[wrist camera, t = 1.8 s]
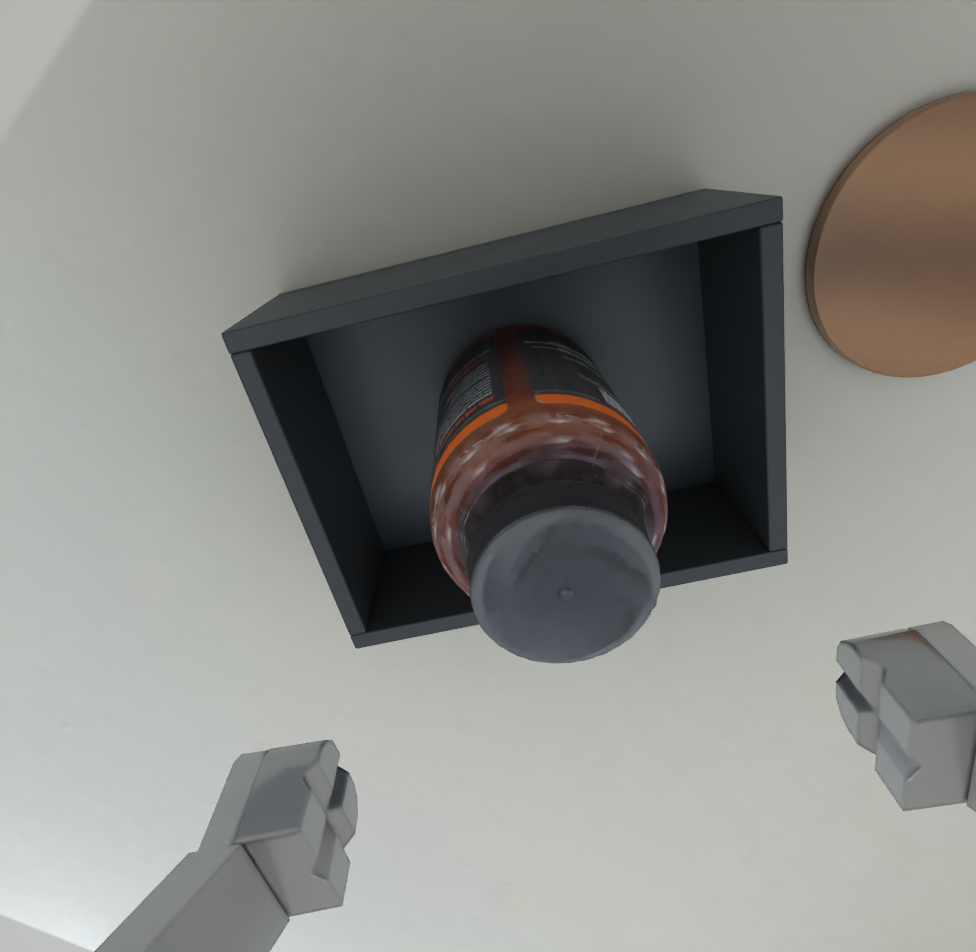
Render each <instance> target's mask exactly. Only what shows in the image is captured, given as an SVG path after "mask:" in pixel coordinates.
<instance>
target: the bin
mask: <svg viewBox="0 0 976 952" xmlns="http://www.w3.org/2000/svg"><path fill="white" fill-rule="evenodd" d="M782 220H783V199H782V196H773V195H763V194H754V193H744V192H734V191H724V190H714V189H701V190H697V191H693V192H689V193H685V194H681V195H677V196H673V197H669V198H665V199H661V200H657V201H653V202H649V203H645V204H641V205H637V206H633V207H629V208H625V209H621V210H617V211H613V212H609V213H605V214H601V215H596V216H592V217H588V218H584V219H580V220H576V221H572V222H568V223H564V224H560V225H556V226H552V227H548V228H544V229H540V230H536V231H532V232H528V233H524V234H520V235H516V236H512V237H508V238H504V239H500V240H496V241H492V242H488V243H484V244H480V245H475V246H471V247H467V248H463V249H459V250H455V251H451V252H447V253H443V254H439V255H435V256H431V257H427V258H423V259H419V260H415V261H411V262H407V263H403V264H399V265H395V266H391V267H387V268H383V269H379V270H375V271H371V272H367V273H363V274H359V275H354V276H350V277H346V278H342V279H338V280H334V281H330V282H326V283H322V284H318V285H314V286H310V287H306V288H302V289H298V290H294V291H290V292H286V293H282V294H279V295H278V296H276V297H275V298H273V299H272V300H270V301H269V302H267V303H266V304H264V305H263V306H261V307H260V308H258V309H257V310H255V311H254V312H252V313H251V314H249V315H248V316H246V317H245V318H243V319H242V320H241V321H239V322H238V323H236V324H235V325H233V326H232V327H230V328H229V329H227V330H226V331H224V332H223V333H222V337H223V340H224V342H225V344H226V347H227V349H228V351H229V353H230V354H232V355H231V358H232V360H233V363H234V365H235V367H236V370H237V372H238V374H239V377H240V379H241V381H242V384H243V386H244V388H245V391H246V393H247V395H248V398H249V400H250V402H251V405H252V407H253V409H254V412H255V414H256V416H257V419H258V421H259V423H260V426H261V428H262V430H263V433H264V435H265V437H266V440H267V442H268V444H269V447H270V449H271V451H272V454H273V456H274V458H275V461H276V463H277V466H278V468H279V470H280V473H281V475H282V477H283V480H284V482H285V484H286V487H287V489H288V491H289V494H290V496H291V498H292V501H293V503H294V505H295V508H296V510H297V512H298V515H299V517H300V519H301V522H302V524H303V526H304V529H305V531H306V533H307V536H308V538H309V540H310V543H311V545H312V547H313V550H314V552H315V554H316V557H317V559H318V561H319V564H320V566H321V568H322V571H323V573H324V575H325V578H326V580H327V583H328V585H329V587H330V590H331V592H332V594H333V597H334V599H335V601H336V604H337V606H338V608H339V611H340V613H341V615H342V618H343V620H344V622H345V625H346V627H347V629H348V632H349V634H350V635H351V639H352V641H353V643H354V646H355V648H362V647H367V646H372V645H377V644H382V643H387V642H392V641H397V640H402V639H407V638H412V637H417V636H422V635H428V634H433V633H438V632H443V631H448V630H453V629H458V628H463V627H468V626H473V625H478V624H479V623H478V621H477V619H476V616H475V614H474V612H473V608H472V605H471V599H470V596H468V595H467V594H466V593H465V592H464V590H462V589H461V588H460V587H459V586H458V585H457V584H456V583H455V582H454V581H453V579H452V578H451V577H450V575H449V574H448V573H447V572H446V570H445V569H444V567H443V565H442V563H441V561H440V559H439V557H438V554H437V551H436V549H435V546H434V543H433V539H432V533H431V526H430V491H431V480H432V468H433V463H434V449H435V439H436V429H437V416H438V405H439V398H440V393H441V391H442V386H443V383H444V380H445V378H446V376H447V373H448V372H449V370H450V368H451V366H452V365H453V363H454V362H455V360H456V359H457V358H458V356H459V355H460V354H461V353H462V352H463V351H464V350H465V349H466V348H467V347H468V346H469V345H470V344H472V343H473V342H475V341H476V340H477V339H479V338H481V337H482V336H484V335H486V334H488V333H491V332H494V331H497V330H500V329H504V328H508V327H514V326H536V327H543V328H547V329H549V330H552V331H555V332H558V333H560V334H561V335H563V336H565V337H567V338H569V339H570V340H572V341H573V342H575V343H576V344H577V345H578V346H579V347H580V348H581V349H583V350H584V352H585V353H586V354H587V355H588V356H589V357H590V359H591V360H592V361H593V362H594V363H595V365H596V366H597V368H598V369H599V371H600V373H601V374H602V376H603V377H604V379H605V381H606V382H607V383H608V385H609V386H610V388H611V389H612V391H613V393H614V395H615V396H616V398H617V399H618V400H619V402H620V403H621V405H622V406H623V408H624V409H625V411H626V413H627V414H628V416H629V417H630V419H631V420H632V422H633V423H634V424H635V426H636V428H637V429H638V431H639V433H640V435H641V437H642V438H643V440H644V441H645V442H646V445H647V446H648V448H649V449H650V451H651V453H652V454H653V456H654V458H655V460H656V462H657V464H658V466H659V469H660V471H661V473H662V476H663V479H664V484H665V488H666V494H667V507H668V513H667V524H666V530H665V533H664V535H663V539H662V541H661V545H660V547H659V548H658V552H657V554H656V555H657V558H658V561H659V566H660V573H661V583H660V588H665V587H670V586H675V585H680V584H685V583H690V582H695V581H700V580H706V579H711V578H716V577H721V576H726V575H731V574H736V573H741V572H746V571H751V570H756V569H761V568H766V567H771V566H776V565H781V564H786V563H787V562H788V558H787V490H786V422H785V354H784V285H783V224H782V222H781V221H782Z"/></svg>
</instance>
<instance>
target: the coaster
mask: <svg viewBox="0 0 976 952" xmlns="http://www.w3.org/2000/svg"><path fill="white" fill-rule="evenodd" d="M805 279H806V294H807V298H808V303H809V308H810V311H811V314H812V317H813V319H814V322H815V324H816V326H817V328H818V329H819V331H820V333H821V335H822V336H823V338H824V339H825V340H826V341H827V342H828V344H829V345H830V346H831V347H832V348H833V349H834V350H835V351H836V352H838V353H839V354H840V355H841V356H842V357H844V358H846V359H847V360H849V361H851V362H852V363H854V364H856V365H858V366H860V367H862V368H864V369H867V370H869V371H872V372H874V373H878V374H882V375H887V376H894V377H922V376H928V375H934V374H939V373H943V372H946V371H950V370H954V369H956V368H959V367H961V366H964V365H966V364H969V363H971V362H973V361H975V360H976V91H974V92H968V93H963V94H957V95H952V96H949V97H946V98H943V99H940V100H937V101H934V102H932V103H930V104H927V105H925V106H923V107H921V108H919V109H917V110H914V111H913V112H911V113H909V114H908V115H906V116H905V117H903V118H901V119H900V120H898V121H896V122H895V123H894V124H892V125H891V126H890V127H888V128H887V129H886V130H884V131H883V132H882V133H880V134H879V135H878V136H877V137H876V138H875V139H874V140H873V141H871V142H870V143H869V144H868V145H867V146H866V147H865V148H864V149H863V150H862V151H861V152H860V153H859V154H858V155H857V157H856V158H855V159H854V160H853V161H852V162H851V164H850V165H849V166H848V167H847V168H846V170H845V171H844V172H843V174H842V175H841V177H840V178H839V179H838V181H837V182H836V184H835V185H834V187H833V189H832V190H831V192H830V194H829V196H828V197H827V199H826V201H825V203H824V205H823V207H822V209H821V212H820V214H819V216H818V218H817V221H816V223H815V226H814V230H813V233H812V236H811V239H810V243H809V249H808V254H807V259H806V274H805Z"/></svg>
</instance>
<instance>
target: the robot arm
mask: <svg viewBox="0 0 976 952" xmlns="http://www.w3.org/2000/svg"><path fill="white" fill-rule="evenodd" d="M836 661H837V662H838V663H839V665H840V666H841V667H842V669H843V670H844V673H843V674H842V675H841V676H840V678H839V679H838V680H837V681H836V699H837V703H838V706H839V710H840V713H841V716H842V718H843V720H844V722H845V725H846V727H847V729H848V730H849V732H850V734H851V735H852V737H853V738H854V740H855V741H856V743H857V744H858V745H860V746H861V747H863V748H865V749H867V750H868V751H870V752H872V753H874V754H876V765H875V771H876V772H877V774H878V775H879V777H880V778H881V779H882V781H883V782H884V784H885V785H886V787H887V788H888V790H889V791H890V793H891V794H892V795H893V797H894V798H895V800H896V801H897V803H898V804H899V806H900V807H901V809H902V810H903V811H909V810H916V809H923V808H930V807H937V806H945V805H952V804H959V803H966V802H967V806H968V807H969V808H971V809H972V810H974V811H975V812H976V646H974V645H973V644H972V643H971V642H970V641H969V640H968V639H967V638H966V637H965V636H964V635H963V634H961V633H960V632H959V631H958V630H957V629H956V628H955V627H954V626H953V625H951V624H949V623H947V622H944V621H940V622H935V623H930V624H925V625H920V626H915V627H910V628H908V629H899V630H894V631H889V632H884V633H879V634H874V635H869V636H864V637H860V638H855V639H850V640H845V641H841V642H840V643H839V645H838V647H837V659H836ZM339 757H340V753H339V751H338V749H337V747H336V746H335V744H334V742H333V740H323V741H317V742H311V743H305V744H298V745H292V746H286V747H280V748H274V749H270V750H265V751H259V752H253V753H247V754H241V755H240V756H239V757H238V759H237V760H236V761H235V762H234V763H233V765H232V768H231V770H230V773H229V775H228V778H227V780H226V783H225V785H224V788H223V790H222V793H221V795H220V798H219V800H218V803H217V805H216V807H215V810H214V812H213V815H212V817H211V820H210V822H209V825H208V827H207V830H206V832H205V835H204V837H203V840H202V842H201V845H200V847H199V850H198V851H197V852H192V853H189V854H188V855H187V856H186V857H185V858H184V859H183V860H182V861H181V862H180V863H179V864H178V865H177V866H176V867H175V868H174V869H173V870H172V871H171V872H170V873H169V874H168V875H167V876H166V877H165V879H164V880H163V881H162V882H161V883H160V884H159V885H158V886H157V887H156V888H155V889H154V890H153V891H152V892H151V893H150V894H149V895H148V896H147V897H146V898H145V899H144V900H143V901H142V902H141V904H140V905H139V906H138V907H137V908H136V909H135V910H134V911H133V912H132V913H131V914H130V915H129V916H128V917H127V918H126V919H125V920H124V921H123V922H122V923H121V924H120V925H119V926H118V927H117V929H116V930H115V931H114V932H113V933H112V934H111V935H110V936H109V937H108V938H107V939H106V940H105V941H104V942H103V943H102V944H101V945H100V946H99V947H98V948H97V949H96V950H95V951H94V952H270V950H271V949H272V947H273V946H274V944H275V943H276V941H277V939H278V938H279V936H280V935H281V933H282V932H283V930H284V928H285V927H286V925H287V924H288V922H289V921H290V920H289V917H290V916H295V915H300V914H305V913H310V912H315V911H320V910H325V909H330V908H335V907H340V906H342V905H343V899H344V894H345V888H346V883H347V877H348V871H349V866H350V860H349V859H348V857H347V855H346V853H345V851H344V848H345V846H346V845H347V844H348V842H349V841H350V840H351V838H352V837H353V836H354V834H355V831H356V824H357V818H358V808H357V794H356V790H355V785H354V782H353V780H352V778H351V776H350V773H349V772H347V771H346V770H344V769H342V768H340V767H338V762H339Z"/></svg>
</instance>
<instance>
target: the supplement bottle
mask: <svg viewBox="0 0 976 952" xmlns="http://www.w3.org/2000/svg"><path fill="white" fill-rule="evenodd" d="M667 513H668V507H667V494H666V488H665V484H664V479H663V476H662V473H661V471H660V469H659V466H658V464H657V462H656V460H655V458H654V456H653V454H652V453H651V451H650V449H649V448H648V446H647V445H646V442H645V441H644V440H643V438H642V437H641V435H640V433H639V431H638V429H637V428H636V426H635V424H634V423H633V422H632V420H631V419H630V417H629V416H628V414H627V413H626V411H625V409H624V408H623V406H622V405H621V403H620V402H619V400H618V399H617V398H616V396H615V395H614V393H613V391H612V389H611V388H610V386H609V385H608V383H607V382H606V381H605V379H604V377H603V376H602V374H601V373H600V371H599V369H598V368H597V366H596V365H595V363H594V362H593V361H592V360H591V359H590V357H589V356H588V355H587V354H586V353H585V352H584V350H583V349H581V348H580V347H579V346H578V345H577V344H576V343H575V342H573V341H572V340H570V339H569V338H567V337H565V336H563V335H561V334H560V333H558V332H555V331H552V330H549V329H547V328H543V327H536V326H514V327H508V328H504V329H500V330H497V331H494V332H491V333H488V334H486V335H484V336H482V337H481V338H479V339H477V340H476V341H475V342H473V343H472V344H470V345H469V346H468V347H467V348H466V349H465V350H464V351H463V352H462V353H461V354H460V355H459V356H458V358H457V359H456V360H455V362H454V363H453V365H452V366H451V368H450V370H449V372H448V373H447V376H446V378H445V380H444V383H443V386H442V391H441V393H440V398H439V405H438V416H437V429H436V439H435V449H434V463H433V468H432V480H431V491H430V526H431V533H432V539H433V543H434V546H435V549H436V551H437V554H438V557H439V559H440V561H441V563H442V565H443V567H444V569H445V570H446V572H447V573H448V574H449V575H450V577H451V578H452V579H453V581H454V582H455V583H456V584H457V585H458V586H459V587H460V588H461V589H462V590H464V592H465V593H466V594H467V595H468V596H470V599H471V605H472V608H473V612H474V614H475V616H476V619H477V621H478V623H479V624H480V626H481V628H482V629H483V630H484V631H485V633H486V634H487V635H488V636H489V637H490V638H491V639H492V640H494V641H495V642H496V643H497V644H498V645H499V646H501V647H502V648H504V649H506V650H507V651H509V652H511V653H513V654H515V655H517V656H520V657H523V658H526V659H528V660H532V661H538V662H546V663H572V662H577V661H584V660H587V659H591V658H594V657H596V656H599V655H603V654H606V653H607V652H609V651H611V650H613V649H614V648H616V647H618V646H620V645H621V644H623V643H624V642H626V641H627V640H628V639H630V638H631V637H633V635H634V634H635V633H636V632H637V631H638V630H639V629H640V628H641V627H642V625H643V624H644V623H645V621H646V620H647V618H648V617H649V615H650V614H651V611H652V609H653V608H654V607H655V606H656V602H657V597H658V594H659V591H660V583H661V573H660V566H659V561H658V558H657V555H656V554H657V552H658V548H659V547H660V545H661V541H662V539H663V535H664V533H665V530H666V524H667Z"/></svg>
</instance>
